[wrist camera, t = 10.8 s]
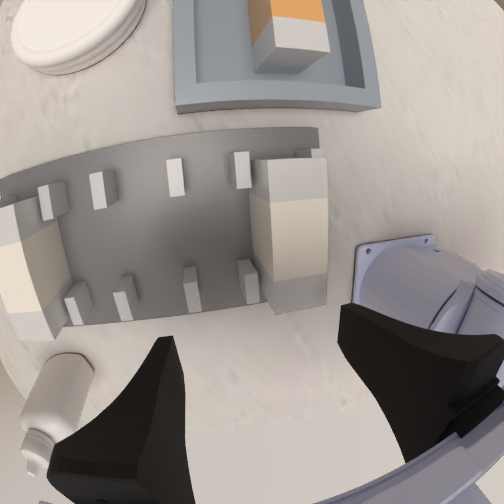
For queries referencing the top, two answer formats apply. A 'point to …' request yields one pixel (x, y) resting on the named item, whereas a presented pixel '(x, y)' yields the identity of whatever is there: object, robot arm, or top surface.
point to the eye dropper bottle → (54, 407)
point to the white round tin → (71, 32)
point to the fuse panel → (158, 221)
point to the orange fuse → (286, 35)
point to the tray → (269, 85)
